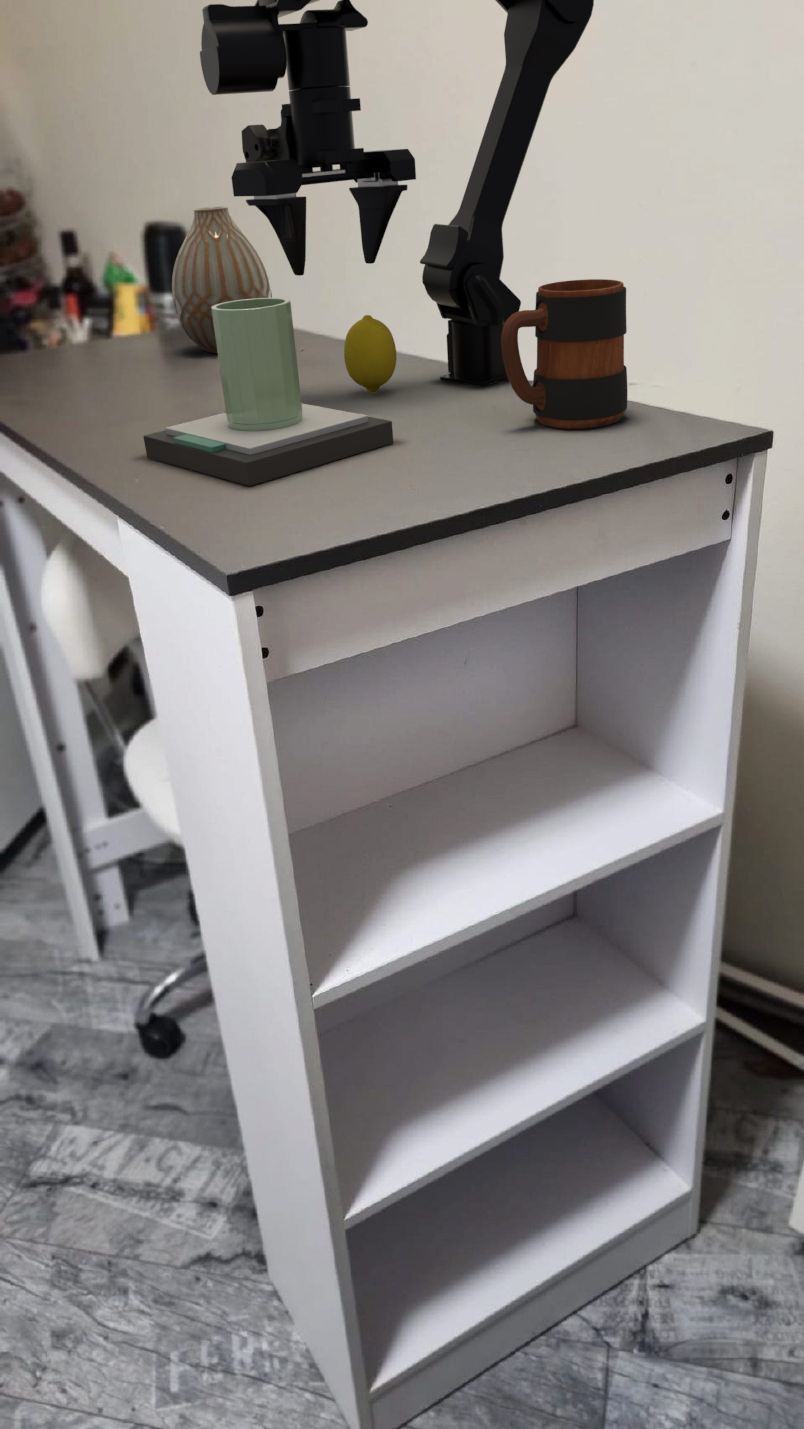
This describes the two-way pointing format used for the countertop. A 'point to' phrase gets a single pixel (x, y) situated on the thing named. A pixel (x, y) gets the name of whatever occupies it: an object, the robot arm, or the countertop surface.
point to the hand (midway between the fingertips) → (335, 269)
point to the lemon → (370, 353)
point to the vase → (214, 273)
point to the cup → (258, 363)
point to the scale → (267, 444)
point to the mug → (573, 353)
